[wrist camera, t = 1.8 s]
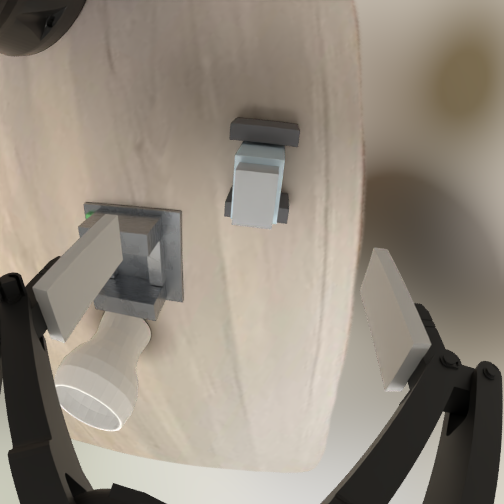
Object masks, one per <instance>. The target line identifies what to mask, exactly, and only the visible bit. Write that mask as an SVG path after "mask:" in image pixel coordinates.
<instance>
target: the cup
mask: <svg viewBox="0 0 504 504" xmlns="http://www.w3.org/2000/svg"><path fill="white" fill-rule="evenodd" d="M150 338H151V331H150V328H149V326H148V325H147V323H146V322H145V321H144V320H143V319H142V318H138V317H133V316H128V315H123V314H118V313H113V312H108V311H105V313H104V315H103V317H102V319H101V321H100V324H99V327H98V330H97V332H96V333H95V334H94V336H93V337H92V338H91V339H90V340H89V341H87V342H85V343H83V344H81V345H79V346H78V347H76V348H75V349H74V350H72V351H71V352H70V353H69V354H68V355H66V356H65V357H64V359H63V360H62V362H61V364H60V365H59V367H58V368H57V371H56V375H55V378H54V383H55V387H56V391H57V395H58V399H59V403H60V406H61V407H62V408H63V409H64V410H65V411H66V412H68V413H69V414H70V415H72V416H73V417H75V418H76V419H78V420H80V421H81V422H83V423H85V424H87V425H90V426H92V427H95V428H97V429H101V430H105V431H117V430H119V429H120V428H122V426H123V425H124V424H125V422H126V421H127V420H128V418H129V417H130V415H131V414H132V412H133V409H134V407H135V404H136V401H137V397H138V377H137V371H136V366H137V362H138V358H139V355H140V354H141V353H142V351H143V350H144V348H145V347H146V346H147V344H148V342H149V341H150Z"/></svg>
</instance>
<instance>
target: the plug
mask: <svg viewBox="0 0 504 504" xmlns="http://www.w3.org/2000/svg"><path fill="white" fill-rule="evenodd" d="M284 164H285V145H278V144H269V143H261V142H251V141H243V143H242V145H241V146H240V148H239V150H238V151H237V153H236V154H235V164H234V177H233V190H232V205H231V219H232V225H239V226H247V227H256V228H264V229H272V224H276V223H277V216H278V209H279V201H280V194H281V186H282V179H283V171H284Z"/></svg>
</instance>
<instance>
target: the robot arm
mask: <svg viewBox="0 0 504 504" xmlns="http://www.w3.org/2000/svg"><path fill="white" fill-rule="evenodd" d="M84 3H85V0H0V53H2V54H4V55H8V56H26V55H33V54H36V53H39V52H41V51H43V50H45V49H46V48H48V47H50V46H51V45H52V44H54V43H55V42H56V41H57V40H58V39H59V38H60V37H61V36H62V35H63V34H64V33H65V32H66V31H67V30H68V29H69V27H70V26H71V25H72V23H73V22H74V20H75V19H76V17H77V16H78V14H79V12H80V11H81V9H82V7H83V5H84ZM122 261H123V256H122V248H121V240H120V231H119V221H118V215H111V214H105V215H104V216H103V217H102V218H101V219H100V220H98V221H97V222H96V223H95V224H94V225H93V226H92V227H91V228H90V229H89V230H88V231H87V232H86V233H85V234H84V235H83V236H82V237H81V238H79V239H78V240H77V241H76V242H75V243H74V244H73V245H72V246H71V247H70V248H69V249H68V250H67V251H66V252H65V253H64V254H63V255H62V256H58V257H56V258H54V259H53V260H51V261H49V262H48V264H47V265H46V266H45V267H44V269H42V270H41V271H40V272H39V274H37V275H36V276H35V277H34V278H33V279H32V280H31V281H30V282H29V283H28V284H27V286H26V287H25V286H24V283H23V280H22V277H21V275H20V274H18V273H8V274H6V275H3V276H2V277H0V392H1V385H2V379H3V384H4V393H5V401H6V409H7V416H8V422H9V428H10V433H11V438H12V443H13V449H12V450H9V452H8V458H9V464H10V469H11V473H12V477H13V480H14V484H15V488H16V491H17V494H18V498H19V501H20V504H166V503H164V502H162V501H160V500H158V499H156V498H154V497H152V496H150V495H148V494H146V493H144V492H140V491H137V490H134V489H130V488H127V487H124V486H121V485H118V484H114V483H113V485H112V488H111V489H97V490H93V488H92V486H91V484H90V483H89V481H88V480H87V478H86V476H85V475H84V473H83V471H82V469H81V466H80V463H79V461H78V458H77V455H76V453H75V450H74V448H73V444H72V441H71V438H70V435H69V432H68V429H67V426H66V423H65V420H64V416H63V413H62V410H61V406H60V403H59V399H58V395H57V391H56V387H55V383H54V379H53V375H52V370H51V366H50V361H49V356H48V351H47V346H46V340H45V338H44V336H43V334H44V333H45V331H46V330H47V329H48V332H49V334H50V337H51V339H54V340H57V341H60V342H63V343H65V342H66V341H67V339H68V338H69V336H70V334H71V333H72V331H73V330H74V328H75V327H76V325H77V324H78V322H79V321H80V319H81V318H82V316H83V315H84V314H85V312H86V311H87V309H88V308H89V306H90V305H91V303H92V302H93V301H94V299H95V298H96V296H97V295H98V293H99V292H100V291H101V289H102V288H103V286H104V285H105V284H106V282H107V281H108V280H109V278H110V277H111V275H112V274H113V273H114V271H115V270H116V269H117V267H118V266H119V265H120V263H121V262H122ZM360 294H361V298H362V302H363V305H364V309H365V312H366V316H367V320H368V323H369V327H370V331H371V335H372V338H373V343H374V347H375V351H376V355H377V359H378V363H379V367H380V371H381V376H382V381H383V385H384V389H385V391H402V390H403V388H404V387H405V385H406V384H407V382H408V385H409V388H410V391H409V392H408V393H407V395H406V396H405V397H404V399H403V400H402V401H401V403H400V404H399V407H398V408H397V410H396V411H395V413H394V414H393V416H392V417H391V419H390V420H389V421H388V423H387V424H386V426H385V427H384V428H383V430H382V431H381V433H380V434H379V435H378V437H377V438H376V439H375V441H374V442H373V443H372V445H371V446H370V447H369V448H368V450H367V451H366V452H365V453H364V455H363V456H362V458H360V460H359V461H358V462H357V463H356V465H355V466H354V467H353V468H352V470H351V471H350V472H349V473H348V474H347V475H346V476H345V478H344V479H343V480H342V481H341V482H340V483H339V484H338V486H337V487H336V488H335V489H334V490H333V491H332V492H331V493H330V494H329V495H328V496H327V497H326V499H325V500H324V501H323V502H322V503H321V504H388V503H389V501H390V500H391V498H392V497H393V496H394V494H395V493H396V491H397V489H398V488H399V487H400V485H401V484H402V482H403V481H404V479H405V478H406V476H407V474H408V473H409V471H410V470H411V468H412V467H413V465H414V463H415V462H416V460H417V458H418V457H419V455H420V453H421V451H422V450H423V448H424V446H425V444H426V442H427V441H428V439H429V437H430V435H431V433H432V431H433V430H434V428H435V426H436V424H437V422H438V420H439V418H440V416H441V414H442V412H443V411H444V412H445V417H444V421H443V427H442V432H441V437H440V441H439V446H438V450H437V455H436V459H435V463H434V467H433V470H432V474H431V478H430V481H429V485H428V488H427V491H426V495H425V498H424V501H423V504H494V499H495V492H496V487H497V480H498V472H499V462H500V453H501V439H502V376H501V372H500V371H499V369H498V368H497V367H496V366H495V365H494V364H492V363H491V362H488V361H483V362H480V363H479V364H478V366H477V367H476V368H475V369H474V368H471V367H467V366H464V365H462V364H461V361H460V359H459V358H458V357H457V355H455V354H454V353H453V352H451V351H449V350H446V349H445V347H444V345H443V342H442V340H441V338H440V335H439V333H438V331H437V329H436V328H435V324H434V322H433V321H432V318H431V316H430V314H429V312H428V311H427V310H426V309H425V307H424V306H423V305H422V304H416V303H413V301H412V298H411V296H410V294H409V292H408V290H407V288H406V285H405V283H404V281H403V279H402V278H401V275H400V273H399V271H398V269H397V267H396V265H395V263H394V261H393V259H392V257H391V255H390V253H389V251H388V250H387V249H381V248H374V249H373V252H372V256H371V259H370V262H369V265H368V268H367V271H366V274H365V277H364V280H363V283H362V286H361V289H360Z"/></svg>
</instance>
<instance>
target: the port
mask: <svg viewBox="0 0 504 504" xmlns="http://www.w3.org/2000/svg"><path fill="white" fill-rule="evenodd" d="M84 210H85V218H86V220H85V221H84V222H83V223H82V224H81V225H80V226H78V229H79V235H80V238H81V237H82V236H83V235H84V234H85V233H86V232H87V231H88V230H89V229H90V228H91V227H92V226H93V225H94V224H95V223H96V222H97V221H98V220H100V219H101V218H102V217H103V216H104V215H105V214H111V215H118V221H119V231H120V240H121V248H122V256H123V261H122V262H121V263H120V265H119V266H118V267H117V269H116V270H115V271H114V273H113V274H112V275H111V277H110V278H109V280H108V281H107V282H106V284H105V285H104V286H103V288H102V289H101V291H100V292H99V293H98V295H97V296H96V298H95V299H94V305H95V309H99V310H104V311H108V312H113V313H118V314H123V315H128V316H133V317H138V318H143V319H148V320H153V321H156V319H157V317H158V315H159V313H160V311H161V309H162V306H163V304H164V302H165V300H171V301H177V302H183V300H184V299H183V275H182V237H181V211H176V210H166V209H156V208H145V207H135V206H123V205H112V204H100V203H87V202H86V203H84Z"/></svg>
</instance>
